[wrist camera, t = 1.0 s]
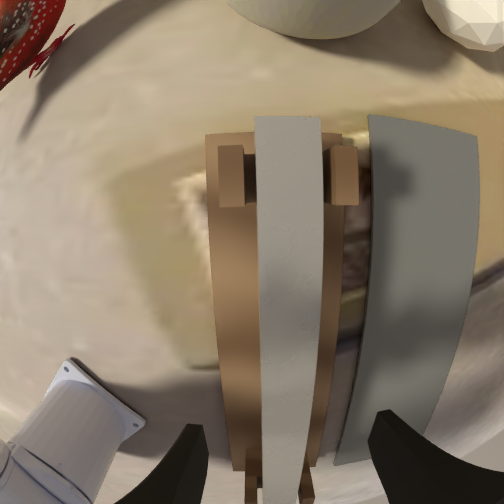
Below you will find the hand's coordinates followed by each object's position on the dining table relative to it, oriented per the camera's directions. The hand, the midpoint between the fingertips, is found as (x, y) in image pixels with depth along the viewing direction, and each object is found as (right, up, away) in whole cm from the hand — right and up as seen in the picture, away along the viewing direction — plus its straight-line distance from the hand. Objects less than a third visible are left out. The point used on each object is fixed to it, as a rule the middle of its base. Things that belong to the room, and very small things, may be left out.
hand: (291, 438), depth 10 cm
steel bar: (0, +1, +4) cm, 4 cm away
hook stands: (0, +2, +7) cm, 8 cm away
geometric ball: (+13, +26, +2) cm, 29 cm away
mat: (+10, +2, +7) cm, 12 cm away
